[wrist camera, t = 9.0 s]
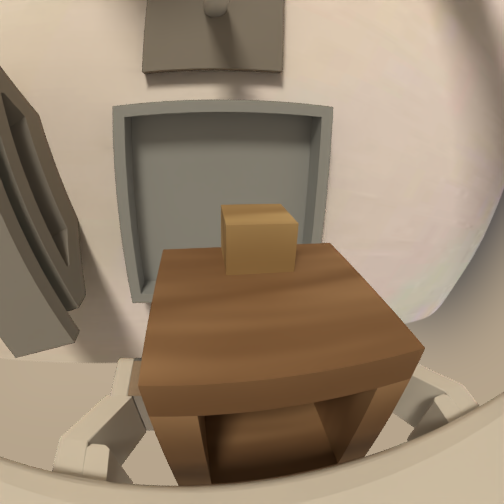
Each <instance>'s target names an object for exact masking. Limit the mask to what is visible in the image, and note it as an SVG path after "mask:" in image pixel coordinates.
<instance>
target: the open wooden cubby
mask: <svg viewBox="0 0 504 504" xmlns="http://www.w3.org/2000/svg"><path fill="white" fill-rule="evenodd" d="M298 225H299V223H298V222H297V221H296V220H295V219H294V218H293V217H292V216H291V215H290V213H289V212H288V211H287V210H286V209H285V208H284V207H283V206H282V205H281V204H233V205H221V247H211V248H187V249H164V250H163V252H162V256H161V261H160V265H159V270H158V274H157V279H156V284H155V289H154V293H153V298H152V303H151V309H150V314H149V319H148V325H147V330H146V336H145V342H144V348H143V354H142V361H141V367H140V374H139V381H138V388H139V391H140V394H141V396H142V399H143V402H144V405H145V408H146V410H147V413H148V416H149V418H150V421H151V424H152V426H153V429H154V431H155V434H156V436H157V438H158V441H159V443H160V445H161V448H162V450H163V453H164V455H165V457H166V459H167V462H168V464H169V466H170V468H171V470H172V472H173V475H174V477H175V479H176V481H177V483H178V485H179V486H199V485H219V484H232V483H242V482H251V481H259V480H266V479H273V478H279V477H285V476H290V475H296V474H301V473H306V472H310V471H315V470H319V469H323V468H327V467H331V466H335V465H339V464H342V463H346V462H350V461H353V460H356V459H360V458H363V457H364V456H365V455H366V454H367V452H368V451H369V449H370V448H371V446H372V445H373V443H374V441H375V440H376V438H377V437H378V435H379V434H380V432H381V430H382V429H383V427H384V426H385V424H386V422H387V421H388V419H389V417H390V416H391V414H392V412H393V410H394V409H395V407H396V405H397V403H398V401H399V400H400V398H401V396H402V394H403V392H404V390H405V388H406V387H407V385H408V383H409V381H410V379H411V377H412V375H413V373H414V371H415V369H416V367H417V365H418V362H419V360H420V358H421V355H422V354H423V352H424V349H425V347H424V346H423V345H422V344H421V343H420V341H419V340H418V339H417V338H416V337H415V336H414V334H413V333H412V332H411V331H410V330H409V329H408V327H407V326H406V325H405V324H404V323H403V322H402V320H401V319H400V318H399V317H398V316H397V315H396V314H395V312H394V311H393V310H392V309H391V308H390V307H389V306H388V305H387V304H386V302H385V301H384V300H383V299H382V298H381V297H380V296H379V295H378V294H377V292H376V291H375V290H374V289H373V288H372V287H371V286H370V285H369V284H368V283H367V282H366V280H365V279H364V278H363V277H362V276H361V275H360V274H359V273H358V272H357V271H356V270H355V269H354V268H353V267H352V265H351V264H350V263H349V262H348V261H347V260H346V259H345V258H344V257H343V256H342V255H341V254H340V253H339V252H338V251H337V250H336V249H335V248H334V247H333V246H332V245H331V244H330V243H316V244H297V237H298Z"/></svg>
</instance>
